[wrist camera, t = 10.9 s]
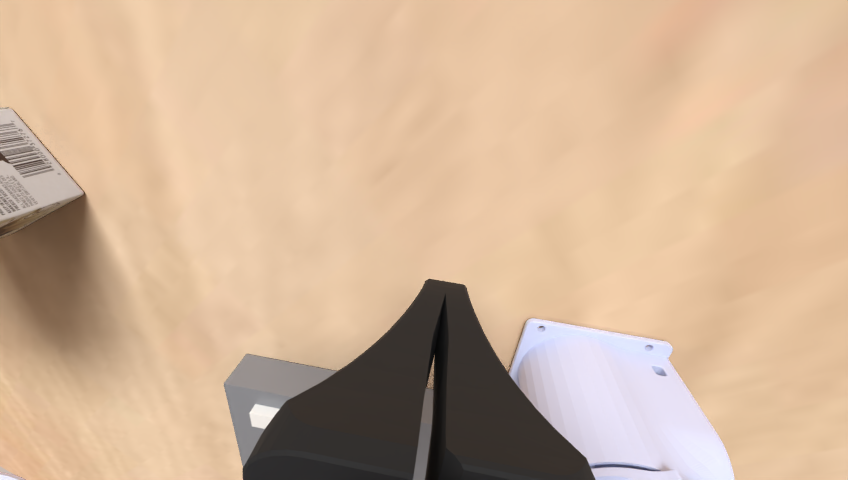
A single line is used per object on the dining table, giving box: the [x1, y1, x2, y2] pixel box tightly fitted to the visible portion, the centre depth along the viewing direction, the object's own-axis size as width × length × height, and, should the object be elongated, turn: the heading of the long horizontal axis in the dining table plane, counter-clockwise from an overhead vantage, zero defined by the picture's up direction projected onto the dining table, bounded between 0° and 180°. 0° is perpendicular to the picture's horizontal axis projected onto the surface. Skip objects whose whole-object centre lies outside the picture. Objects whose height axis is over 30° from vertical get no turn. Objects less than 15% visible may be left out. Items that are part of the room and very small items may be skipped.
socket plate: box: [224, 354, 433, 480], centre depth 30 cm, size 18×16×4 cm
